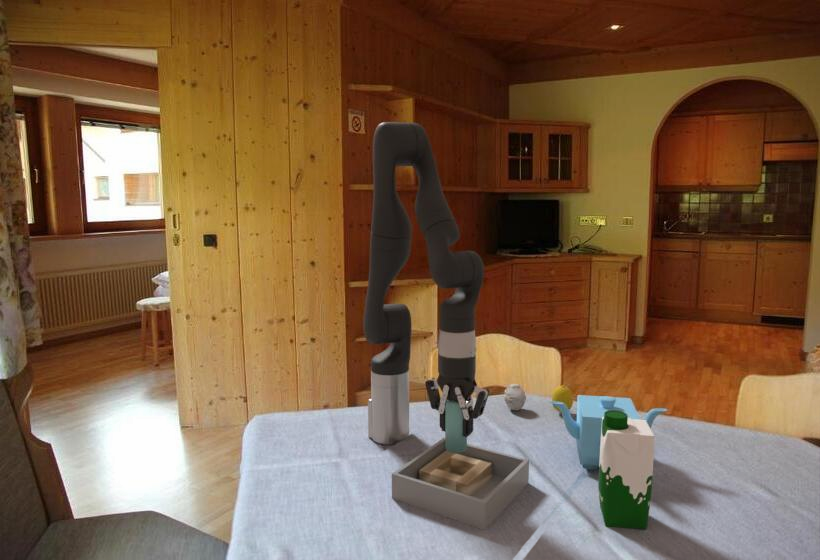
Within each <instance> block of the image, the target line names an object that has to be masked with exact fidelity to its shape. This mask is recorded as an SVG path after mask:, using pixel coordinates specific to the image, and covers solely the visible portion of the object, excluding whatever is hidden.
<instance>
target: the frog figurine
mask: <svg viewBox="0 0 820 560" xmlns="http://www.w3.org/2000/svg"><path fill="white" fill-rule="evenodd" d="M503 399H504V401H505V404H506V406H507V407H508V408H509V409H510V410H512V411H519V410H521V409H523V407H524V405H525V404H526V401H527V396H526V392H525V391H524V390H523V388H522V387H521V385H520V384H518V383H517V384H516V383H511V384H508V385H507V387H506V389H505V390H504V395H503Z"/></svg>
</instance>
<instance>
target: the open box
mask: <svg viewBox="0 0 820 560" xmlns="http://www.w3.org/2000/svg"><path fill="white" fill-rule="evenodd" d="M445 451H447V450H446V449H445V437H443V438H441V439H440V440H438V441H437V442H436V443H434V444H432V445H431V446H430V447H428V448H426V450H424V451H423V452H421V453H420V454H418V455H417V456H415V457H414V458H412V459H411V460H410V461H409V460H408V462H406V463H405V464H403V465H402V466H401V467H399V468H398V469H396V470H395V471H394V472H392V473H391V499H393V500H396V501H398V502H402V503H406V504H409V505H411V506H412V507H413V506H414V507H417V508H419V509H423V510H425V511H429V512H432V513H434V514H436V515H439V516H440V515H441V516H443V517H447V518H449V519H452V520H456V521H458V522H461V523H464V524H466V525H469V526H473V527H475V528H478V529H481V530H483V531H484V530H486V529H487V528H488V527H489V526H490V525H491V524H492V523H493V522H494V521H495V520H496V519H497V518H498V516H499V515H500V514H501V513H502V512H503V511H505V509H506V508H507V507H508V506H509V505H510V504H511V503H512V502H513V501H514V500H515V498H516V497H517V496H518V495H519V494H520V493H521V492H522V491H523V490H524V488H526V487H527V485H529V480H530V479H529V475H530V473H529V472H530V469H529V468H530V459H526V458H522V457H520V456H515V455H511V454H507V453H504V452H500V451H495V450H492V449H489V448H484V447H481V446H477V445H473V444H468V443H467V450H466V451H464V452H460V453H457V454H461V455H465V456H468V457H472V458H476V459H479V460H483V461H487V462H490V463H492V477H491V478H490V479H489V480H487V481H486V482H485V483H484V484H483V485H482V486H481V487H480V488H479V489H478V490H477V491H475V492H474V493H473V494H472V495H471V496H469V495H466V494H462V493H459V492H456V491H453V490H450V489H446V488H443V487H440V486H437V485H434V484H430V483H427V482H424V481H421V480H419V470H420V469H421V468H423V467H424V466H426V465H427V464H428V463H430V462H431V461H432V460H434V459H435V458H437V457H438V456H439V455H441V454H442V453H443V452H445ZM449 473H453V474H456V475H460V476H463V474H460V473H456V472H453V471H450V472H449Z"/></svg>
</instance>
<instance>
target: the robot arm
mask: <svg viewBox="0 0 820 560" xmlns="http://www.w3.org/2000/svg"><path fill="white" fill-rule="evenodd" d="M396 167H412V168H413V169H414V171H415V173H416V176H417V178H418V179H417V180H418V188H417V193H416V197H415V203H414V212H415V218H416V221H417V223H418V226H419V229H420V230H421V233H422V235H423V237H424V240H425V242H426V243H425V244H426V250H427V257H428V258H427V259H428V267H429V273H430V276H431V278H432V280H433V282H434V283H435V284H436V285H437V286H438V287H439V288H442V289H444V290H448V289H450V290H451V289H455V291H454V294H453V295H452V296H450V297H448V298H447V299H444V300H443V301H442V302H441V303H440V305H439V312H438V313H439V314H438V315H439V317H438V319H439V321H438V323H439V325H438V327H439V331H438V339H437V372H438V377H437V378H435V377H432V378H430V379H428V380H426V381H425V382H424V383H425V388H426V392H427V396H428V400H429V403H430V408H431V409H433V410H436V411H437V412H438V414H439V427H440V428H441V432H445V405H446V401H447V400H450V401H452V400H454V401H456V402H459V405H460V408H461V409H462V412H463V415H464V418H465V419H463V436H464V437H467V438H468V437H470V436H471V434H472V433H473V432H474V420H475V419H478V418H479V417H481V416H482V415H483V414H484V411H485V407H486V404H487V401H488V398H489V395H490V390H489V389H488V388H482V387H480V386H478V383H477V381H476V367H477V366H476V365H477V361H476V360H477V355H476V353H477V337H476V313H475V312H476V307H477V304H478V302H479V301H478V300H479V297H480V293H481V289H482V287H483V284H484V283H483V282H484V277H485V266H484V262H483V259H482V257H481V256H480V255H479V254H478V253H477V252H476V251H473V250H461V251H451V250H450V247H451V246H453V245H455V244H456V243H457V242H458V241H459V238H460V236H461V234H460V233H461V232H460V229H459V226H458V223H457V221H456V219H455V217H454V215H453V213H452V210H451V209H450V206H449V204H448V202H447V200H446V197H445V194H444V191H443V187H442V183H441V180H440V179H441V178H440V176H439V172H438V168H437V164H436V160H435V156H434V153H433V149H432V146H431V142H430V139H429V137H428V134H427V132H426V129H425V127H423V126H422V125H421V124H419V123H416V122H404V121H403V122H401V121H400V122H399V121H383V122H381V123H379V124H378V125H377V126H376V128H375V131H374V135H373V140H372V178H373V179H372V180H373V182H372V183H373V195H372V196H373V198H372V201H373V202H372V213H371V214H372V216H371V226H370V227H371V228H370V238H369V239H370V241H369V242H370V244H369V266H368V267H369V269H368V271H369V272H368V283H367V291H366V296H365V305H364V313H363V325H362V326H363V334H364V338H365V340H366V341H367V343H369V344H371V345H382V344H389V346H388V347H387V348H386V349H384V350H383V351H382V352H380V353H378V354H376V355H374V356H373V357H372V358H371V361H370V390H371V391H370V392H371V393H370V395H371V396H370V397H371V398H369V399H368V400H367V429H368V430H367V432H368V436H367V437H368V438H371V439H372V440H373V442H375V443H378V444H380V445H392V446H393V445H397V444H399V443H400V442H401V441H403V440H405V439H407V438H408V437H409V436H410V360H411V344H412V327H413V326H412V315H411V312H410V309H409V307H408V306H407V305H406V304H404V303H400V302H399V303H387V304H385V300H386V297H387V293H388V291H389V289H390V287H391V285H392V283H393V281H394V280H395V279H396V278H397V276H398V275H399V274H400V272H401V271H402V269H403V267H404V266H405V265H406V263H407V261H408V259H409V257H410V253H411V246H412V236H413V226H412V222H411V219H410V217H409V214H408V212H407V210H406V209H405V206H404V204H403V203H402V201H401V199H400V197H399V194H398V191H397V187H396ZM439 388H440V389H439ZM440 390H441V392H442V393H441V394H440ZM473 393H475V395H474V398H475V399H476V400H475V404H474V400H473ZM465 401H467V402H466V403H465Z"/></svg>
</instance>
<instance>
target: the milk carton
mask: <svg viewBox="0 0 820 560" xmlns="http://www.w3.org/2000/svg"><path fill="white" fill-rule="evenodd" d="M654 449H655V434H654V432H653V431H652V430H651V429H650V427H649V425H648V424H647V422H646V420H644V419H641V418H640V419H631V418H628V415H627V414H626V413H624V412H621V411H616V410H609V411H606V412H605V413H604V417H602V427H601V442H600V461H599V466H598V483H597V484H598V487H597V488H598V499H599V507H600V510H601V516H602V518H603V523H604V525H605V527H615V528H623V529H624V528H626V529H636V530H637V529H638V530H647V528H648V520H649V514H650V507H651V501H652V490H653V489H652V488H653V473H654V459H655V458H654V457H655V450H654Z"/></svg>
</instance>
